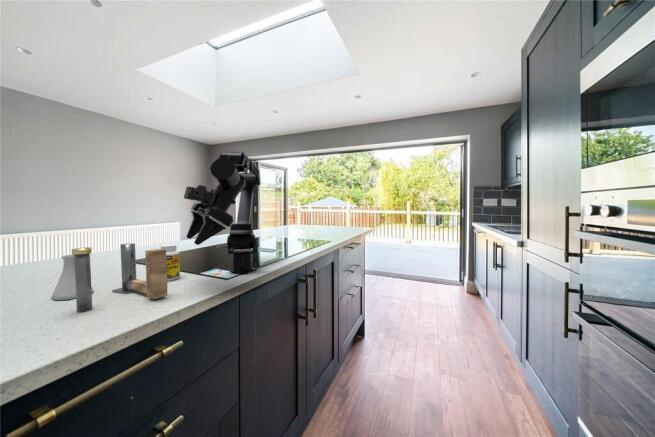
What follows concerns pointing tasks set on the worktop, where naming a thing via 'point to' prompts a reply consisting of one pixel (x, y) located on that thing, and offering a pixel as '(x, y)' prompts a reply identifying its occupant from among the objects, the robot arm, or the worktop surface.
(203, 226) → the robot arm
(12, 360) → the worktop surface
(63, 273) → the flask
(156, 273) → the tan flat l-shaped piece
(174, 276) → the supplement bottle
